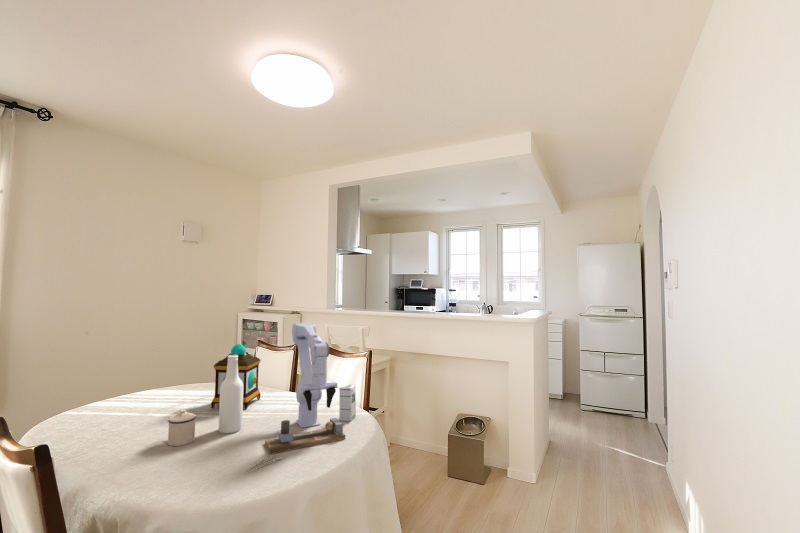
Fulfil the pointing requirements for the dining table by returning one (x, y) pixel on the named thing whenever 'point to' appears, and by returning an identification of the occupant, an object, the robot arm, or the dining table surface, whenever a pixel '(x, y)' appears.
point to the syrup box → (347, 403)
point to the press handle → (285, 432)
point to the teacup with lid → (181, 428)
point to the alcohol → (231, 399)
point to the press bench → (308, 438)
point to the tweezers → (264, 463)
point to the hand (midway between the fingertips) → (319, 408)
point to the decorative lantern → (245, 373)
